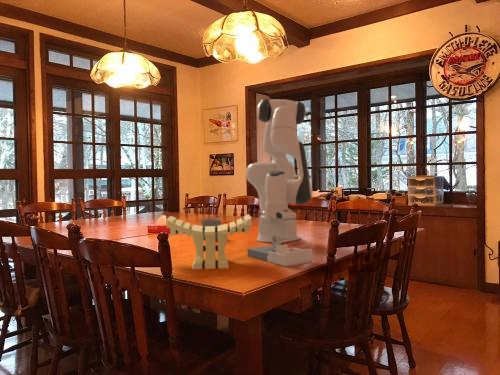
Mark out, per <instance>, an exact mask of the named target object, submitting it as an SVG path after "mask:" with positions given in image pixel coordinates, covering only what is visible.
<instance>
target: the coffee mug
mask: <svg viewBox="0 0 500 375" xmlns="http://www.w3.org/2000/svg"><path fill="white" fill-rule="evenodd" d="M221 220H222V219H221V218H217V217H216V218H213V217H212V218H210V217H209V218H201V220H200V221H201V222H200V223H201V224H200V226H203V227H205V226H215V227H217V226H219V225H222V223H221ZM203 241H205V235H204V233H203ZM215 241H218V232H215Z"/></svg>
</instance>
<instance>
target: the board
mask: <svg viewBox="0 0 500 375" xmlns="http://www.w3.org/2000/svg"><path fill="white" fill-rule="evenodd" d="M289 249H290V251H293V248H289ZM269 251H271V252H275V253H276V251H275V248H274V247H273V244H272V245H266V246H265V245H264V246H258V247H249V248H247V256H248V257H250V258H253V259H257V260H260V261H264V262H267V255H268V252H269Z"/></svg>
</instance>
